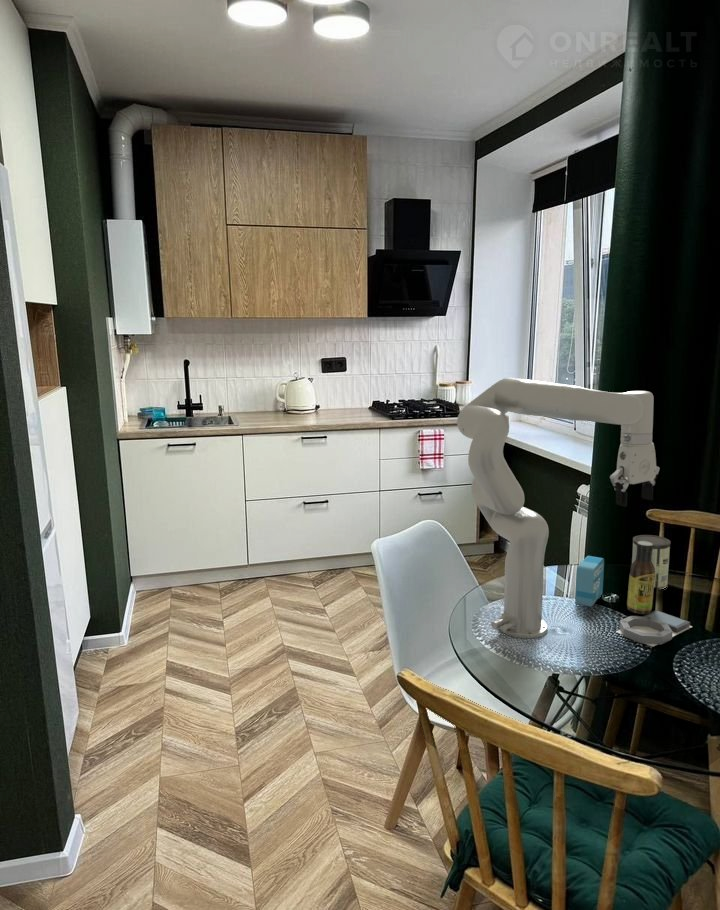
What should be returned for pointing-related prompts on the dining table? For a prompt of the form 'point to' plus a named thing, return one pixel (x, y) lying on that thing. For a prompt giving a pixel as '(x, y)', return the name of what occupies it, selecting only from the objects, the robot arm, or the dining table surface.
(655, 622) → the grey shallow tray
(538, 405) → the robot arm
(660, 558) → the coffee can
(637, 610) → the sauce bottle
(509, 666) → the dining table surface
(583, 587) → the data package
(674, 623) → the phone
